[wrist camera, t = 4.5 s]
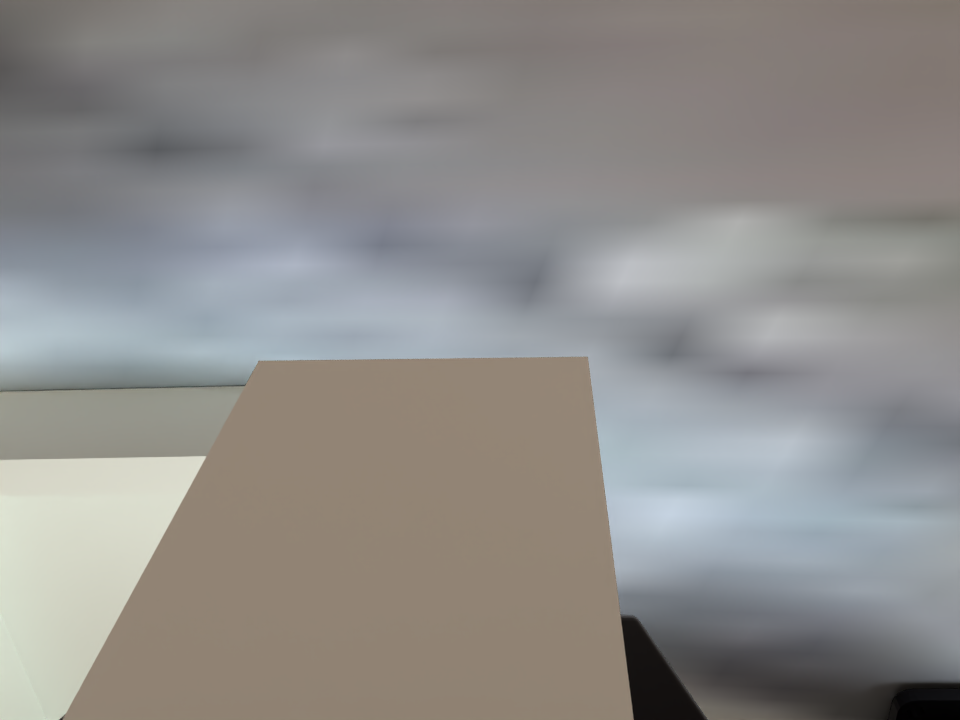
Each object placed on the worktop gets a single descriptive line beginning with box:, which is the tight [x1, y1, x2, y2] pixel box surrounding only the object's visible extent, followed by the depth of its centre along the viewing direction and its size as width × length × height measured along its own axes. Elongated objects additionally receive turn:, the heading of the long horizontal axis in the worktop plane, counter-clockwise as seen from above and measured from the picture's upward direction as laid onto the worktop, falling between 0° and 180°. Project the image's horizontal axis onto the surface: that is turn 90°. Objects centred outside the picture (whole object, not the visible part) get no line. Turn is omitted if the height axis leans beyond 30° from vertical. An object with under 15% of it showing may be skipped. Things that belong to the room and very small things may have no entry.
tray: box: [0, 386, 245, 720], centre depth 24 cm, size 12×14×3 cm
